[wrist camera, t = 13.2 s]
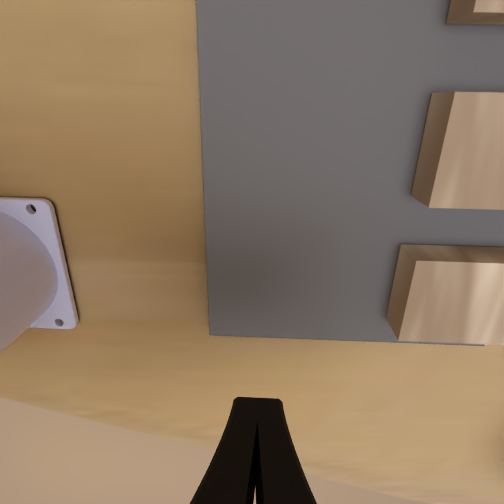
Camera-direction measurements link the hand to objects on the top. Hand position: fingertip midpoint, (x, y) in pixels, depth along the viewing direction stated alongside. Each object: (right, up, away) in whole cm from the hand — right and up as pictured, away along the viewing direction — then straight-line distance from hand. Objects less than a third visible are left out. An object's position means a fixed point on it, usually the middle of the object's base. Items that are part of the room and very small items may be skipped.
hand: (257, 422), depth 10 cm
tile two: (+7, +9, +4) cm, 13 cm away
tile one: (+7, +3, +7) cm, 11 cm away
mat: (+6, +10, +6) cm, 13 cm away
